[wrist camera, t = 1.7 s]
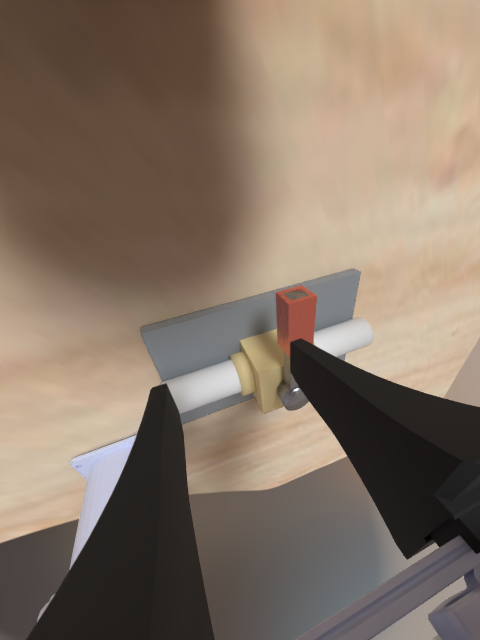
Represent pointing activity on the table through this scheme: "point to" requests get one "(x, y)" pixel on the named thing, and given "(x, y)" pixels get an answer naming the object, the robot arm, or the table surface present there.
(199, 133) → the table surface
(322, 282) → the board
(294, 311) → the lever
